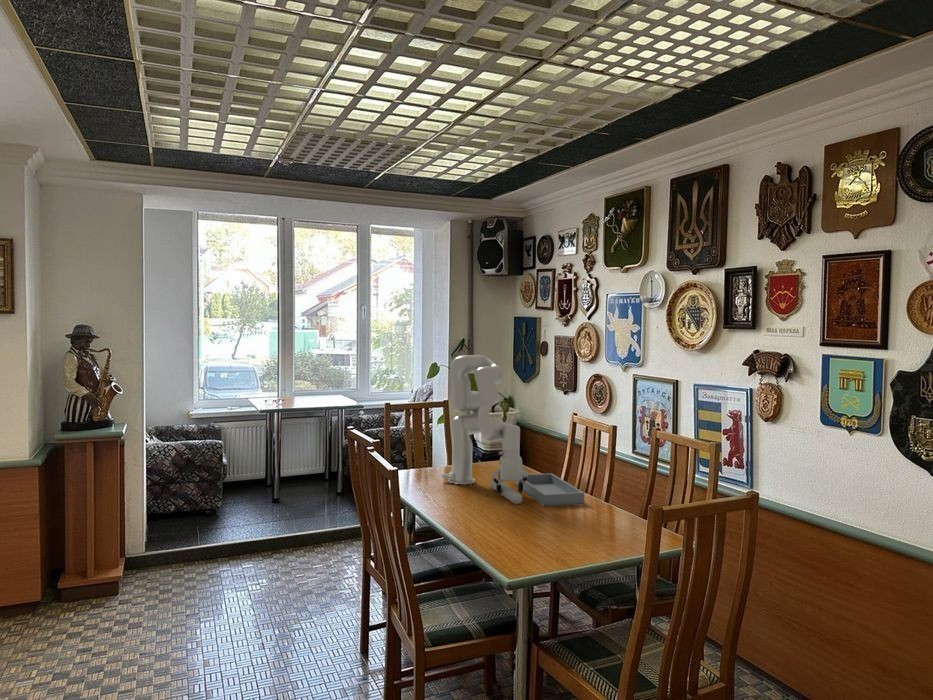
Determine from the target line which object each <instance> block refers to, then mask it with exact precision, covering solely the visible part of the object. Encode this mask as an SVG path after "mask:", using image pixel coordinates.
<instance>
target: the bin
mask: <svg viewBox="0 0 933 700" xmlns="http://www.w3.org/2000/svg"><path fill="white" fill-rule="evenodd" d="M524 476H525V474H523V477H524ZM518 483H519V480H517V481H515V487H516V488H518ZM523 491H524V492H523ZM523 491H522V492H523V493H525V494H526V493H527V494H528V495H527V496H529V497H530V496H531V497H532V499H533V500H534V499H535V500H536V501H535V500H534V501H535V502H537V503H538V502H539V503H540V504H539V503H538V504H539V505H541V506H542V505H543V506H544V508H546V507H545V506H551V507H561V506H560V505H568V506H575V505H574V504H584V505H585V492H584V491H582V490H580V489H578V488H577V487H575V486H574V485H572V484H570V483H569V482H567V481H565V480H564V479H562V478H561V477H558V475H555V474H554V473H551V472H550V473H531V474H530V473H529V476H528V478H527V480H526V481H525V482H524V484H523ZM531 497H530V498H531ZM543 506H542V507H543Z"/></svg>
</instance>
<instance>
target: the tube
mask: <svg viewBox="0 0 933 700" xmlns="http://www.w3.org/2000/svg"><path fill="white" fill-rule="evenodd" d="M500 485H501V494H500V495H501V496H502V497H504V498H505V499H507V500H509V501H510V502H511V503H513V504H514V503H515V504H514V505H520V504H522V502H523V495H522V493H520V492H519V491H518V492H517V491H516V490H515V489H513V488H512V487H510V486H509V485H507V484H506V483H504V482H502V483H501V484H500ZM496 487H497V484H496V483H495V482H494V481H493V479H492V480H491V481H490V489H492V490H493V489H494V490H493V491H495V490H496Z"/></svg>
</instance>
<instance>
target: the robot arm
mask: <svg viewBox="0 0 933 700" xmlns="http://www.w3.org/2000/svg"><path fill="white" fill-rule="evenodd" d="M449 368H450V371H449V372H450V375H451V383H452V402H453V409H454V410H455V411H456V412H459V413H466V412H469V414H461V415H456V416H454V417H453V418H452V419H451V421H450V432H451V438H452V439H451V440H452V446H451V449H452V450H451V451H452V452H451V470H450V472H448V473H441V479H447V480H448V481H449V483H450V484H452V483H454V484H453V485H457V484H461V485H460V486H467V485H466V484H469V485H472V483H473V484H475V483H476V479H475V478H474V477H472V476H473V441H472V439H471V437H470V435H475V434H481V436H482V438H483V439H484V440H486V441H489V442H490V441H499V440H502V441H501V443H502V444H501V445H502V446H501V448H502V449H501V451H498V455H501V456H500V458H499V463H498V469H497V470H495V472H493V473H491V474H490V477H491V479H492V480H493V481H494V482H495V483H496V484H497V487H496V492H497V494H498V495H501V485H500V484H501V483H503V482H512V481H513V482H514V481H515V482H516V481H517V480H519V483H518V487H517V488H518V489H517V490H518V493H519V494H522V493H523V491H522V490H523V484H524V482H525V481H526V480H527V478H528V476H529V474H530V472H528V471H526V470H524V469H523V459H522V456H520V451H521V450H520V449H521V448H520V446H521V445H520V444H521V443H520V442H521V428H520V426H519V425H516V424H511V423H509V422H505V421H500V422H499V421H498V422H492V421H491V418H490V412H491V408H492V407H493V406H494V405H495V404H496V403H497V402H498V401H500V395H499V391H498V387H497V385H499V384H501V383H502V382H503V381H504V371H503V370H502V368H501V367H500V366H499V365H498V364H496V363H495V362H494V361H493V360H492V359H490V358H488V357H487V356H486V355H483V354H465V355H458V356H457V357H455V358H454V359H453V360H452V362H451V364H450V367H449ZM467 374H474V375H473V376H474V380H475V383H476V388H477V391H476V390H472V389H471V387H472V385H471V380H470V378H469V376H468V375H467ZM523 475H525V476H524V477H523ZM496 476H497V477H498V478H496ZM462 484H463V485H462Z"/></svg>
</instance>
